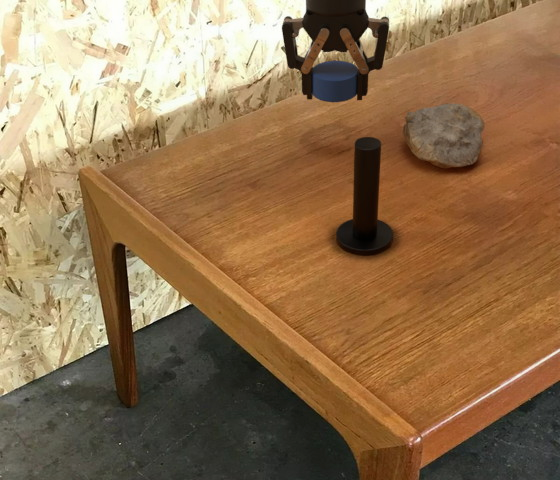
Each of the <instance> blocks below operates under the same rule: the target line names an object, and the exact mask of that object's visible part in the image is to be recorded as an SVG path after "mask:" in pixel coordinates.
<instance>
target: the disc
mask: <svg viewBox="0 0 560 480" xmlns="http://www.w3.org/2000/svg"><path fill="white" fill-rule="evenodd" d="M312 67H313V69H312V94H313V97H314V98H315V99H317V100H319V101H322V102H326V103H343V102H346V101H349V100H352V99H354V98H355V97H357V79H358V67H357V65H356V64H353V63H351V62H350V61H346V60H345V61H344V60H327V61H322V62H320V63H317V64H316V65H315V66H312Z"/></svg>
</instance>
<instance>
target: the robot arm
mask: <svg viewBox="0 0 560 480" xmlns="http://www.w3.org/2000/svg"><path fill="white" fill-rule="evenodd" d="M366 4H367V0H305V12H304V14H303V17H297V18H292V16H290V15H286V16H285V17H284V19H283V21H282V25H281V32H282V39H283V46H284V51H285V52H284V53H285V59H286V65H287V67H288V68H289V69H290V70H298V71H299V72H300V74H301V75H300V76H301V93H302V95H303V96H306V100H313V97H314V96H313V94H312V69H313V67H314V66H313V65H314V63H315V62H316V60H317V59H318V57H319V55H320V53H321V51H322V53H331V52H339V53H348V52H349V55H350V56H351V59H352V60H353V62H354V63H355V66H356V67H357V68H358V79H357V95H356V101H363V97H367V95H368V92H369V74H370V73H371V72H372V71H374V70H376V71H379V70H380V71H381V70H382V68H383V65H384V61H385V60H384V59H385V53H386V49H387V43H388V38H389V30H390V19H389V17H387V16H381V18H374V17H369V15H368V13H367V8H366ZM301 29H303V30H304V31H305V32H306V34H307V35H308V37H309V38H310V39H311V41H310V44H309V46H308V49H307V51H306V53H305V55H304V56H301V55H299V51H298V44H297V40H296V39H297V38H298V37H299V35H300V30H301ZM368 29H369V30H371V35H372V37H373V38H375V39H376V42H375V48H374V54H373V55H371V56H369V57H368V55H367V52H366V51H365V49H364V45H363V42H362V41H361V38H362V36H363V35H364V34H365V33H366V31H367V30H368Z"/></svg>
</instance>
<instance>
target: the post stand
mask: <svg viewBox="0 0 560 480" xmlns="http://www.w3.org/2000/svg"><path fill="white" fill-rule="evenodd" d="M353 148H354V150H353V190H352V191H353V193H352V219H348V220H346V221H345V222H342V223H341V224H340V225H339V226H338V227H337V230H336V232H335V233H336V234H335V239H336V243H337V245H338V246H339V247H340V249H342V250H343V251H344V252H346V253H347V252H348V253H349V254H353V255H357V256H372V255H373V256H374V255H376V254H380V253H383V252H384V251H386V250H388V249H389V248H390V247H391V246H392V243H393V241H394V232H393V229H392V227H391V226H390V225H389V224H388V223H387V222H385V221H383V220H381V219H379V218H378V217H379V216H378V215H379V199H380V198H379V197H380V178H381V177H380V176H381V159H382V158H381V155H382V141H381V140H380V139H379V138H376V137H373V136H363V137H359V138H358V139H356V140H355V141H354V147H353Z"/></svg>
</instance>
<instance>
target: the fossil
mask: <svg viewBox="0 0 560 480" xmlns="http://www.w3.org/2000/svg"><path fill="white" fill-rule="evenodd" d="M404 119H405V122H406V123H405V124H404V125H403V127H402V136H403V139H404V141H405V143H406V144H407V146H408V148H409V149H410V150H411V153H412V154H413V155H414V156H415V157H416V158H417V159H418V160H421V161H424V162H429V163H431V164H432V165H433V166H435V167H438V168H441V169H450V168H462V167H466V166H470V165H473V164H474V163H476V162H477V160H478V158H479V156H480V155H481V154H480V153H481V150H482V148H483V138H482V133H483V132H484V130H485V122H484V120H483V118H482V116H481V114H480V113H479V112H478V111H476V110H475V109H472V108H471V107H469V105H467V104H466V105H465V104H462V103H452V102H445V103H442V104H439V105H435V106H430V107H422V108H419V109H416V110H415V111H413V112H412V111H407V112H406V116H405V117H404Z"/></svg>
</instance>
